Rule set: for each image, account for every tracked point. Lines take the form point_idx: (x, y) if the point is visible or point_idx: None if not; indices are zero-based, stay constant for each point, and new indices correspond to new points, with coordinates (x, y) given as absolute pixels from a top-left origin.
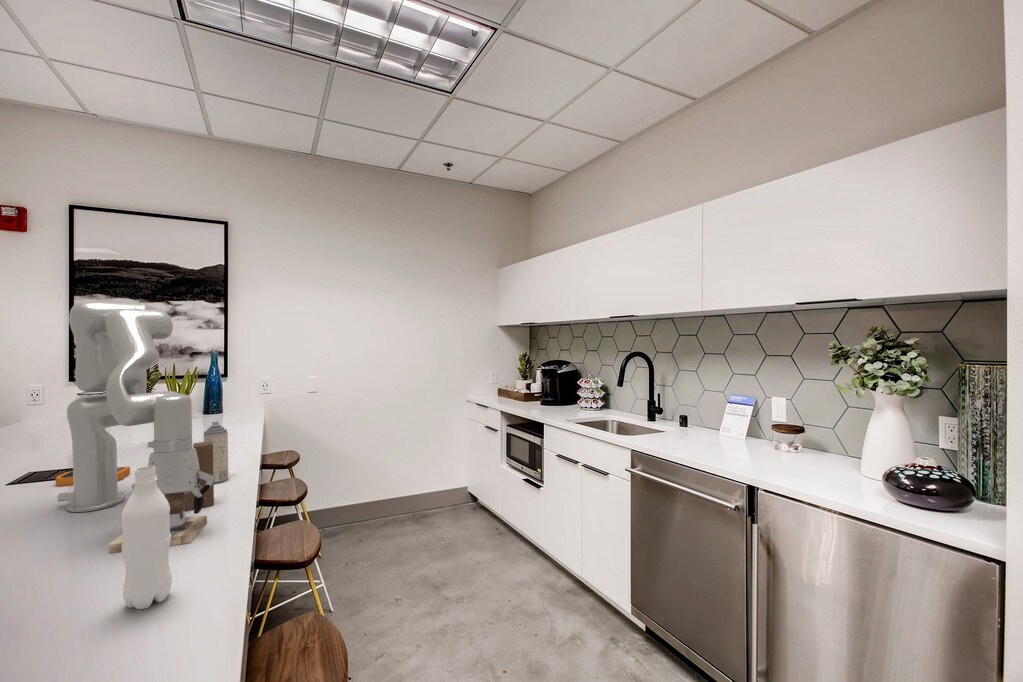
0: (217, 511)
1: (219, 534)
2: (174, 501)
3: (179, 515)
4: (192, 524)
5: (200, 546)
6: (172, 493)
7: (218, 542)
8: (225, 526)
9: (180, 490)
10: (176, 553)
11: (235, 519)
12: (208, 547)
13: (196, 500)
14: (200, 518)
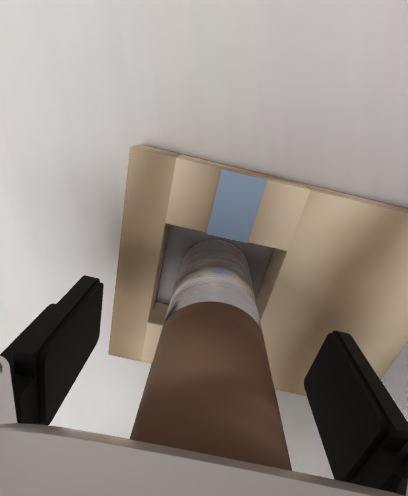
0: (107, 410)
1: (40, 188)
2: (200, 371)
3: (184, 298)
4: (146, 287)
5: (89, 72)
6: (210, 455)
7: (15, 79)
8: (41, 266)
9: (91, 468)
10: (186, 35)
11: (23, 316)
12: (46, 30)
13: (31, 333)
14: (126, 336)
